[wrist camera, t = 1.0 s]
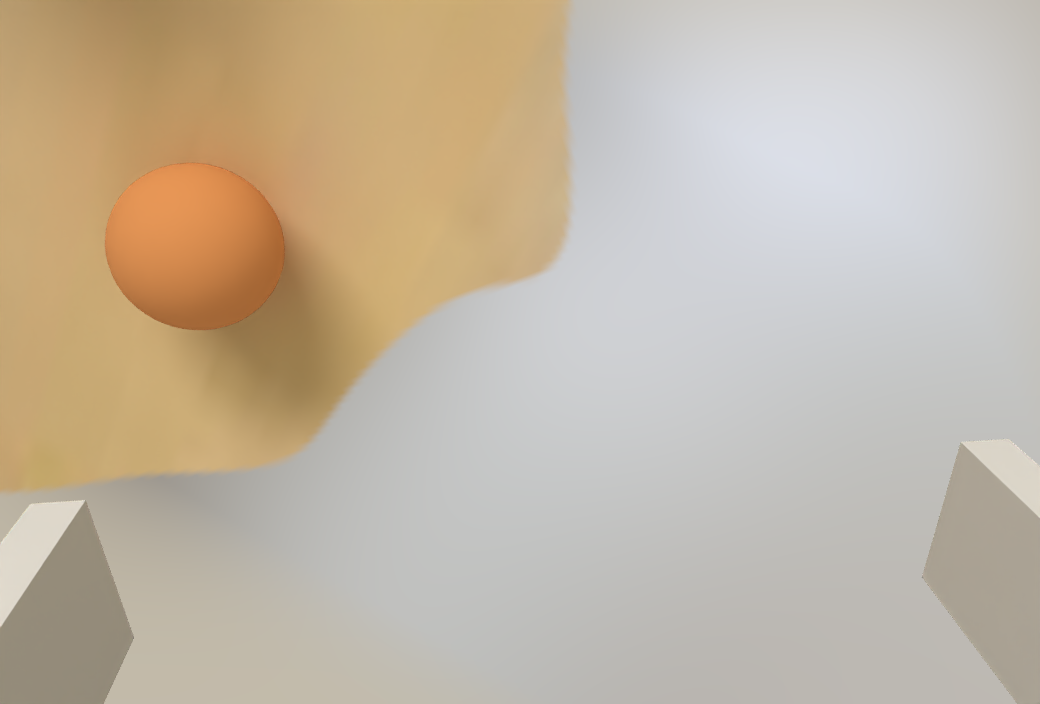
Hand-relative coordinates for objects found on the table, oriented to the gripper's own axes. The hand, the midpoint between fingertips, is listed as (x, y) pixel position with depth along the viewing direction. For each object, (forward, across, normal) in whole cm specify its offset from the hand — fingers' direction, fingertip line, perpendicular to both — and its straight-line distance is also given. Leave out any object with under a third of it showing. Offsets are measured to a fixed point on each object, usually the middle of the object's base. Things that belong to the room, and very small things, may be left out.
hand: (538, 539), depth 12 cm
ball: (+16, -10, 0) cm, 19 cm away
